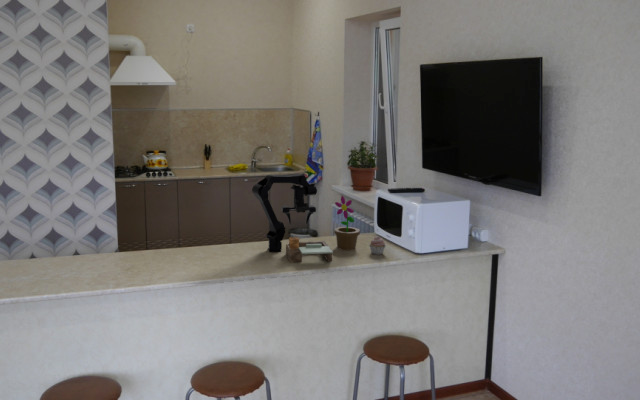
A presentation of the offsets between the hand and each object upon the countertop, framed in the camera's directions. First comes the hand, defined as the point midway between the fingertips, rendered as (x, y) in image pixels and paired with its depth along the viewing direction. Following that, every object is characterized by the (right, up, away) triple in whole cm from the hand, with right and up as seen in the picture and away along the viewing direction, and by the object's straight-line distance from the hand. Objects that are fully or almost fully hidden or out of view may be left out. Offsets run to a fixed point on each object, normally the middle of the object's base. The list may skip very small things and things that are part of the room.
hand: (298, 224), depth 326 cm
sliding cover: (+10, -13, -25) cm, 29 cm away
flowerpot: (+27, -14, +4) cm, 30 cm away
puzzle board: (+6, -17, -15) cm, 23 cm away
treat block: (-2, -11, -20) cm, 23 cm away
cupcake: (+43, -16, -6) cm, 47 cm away
